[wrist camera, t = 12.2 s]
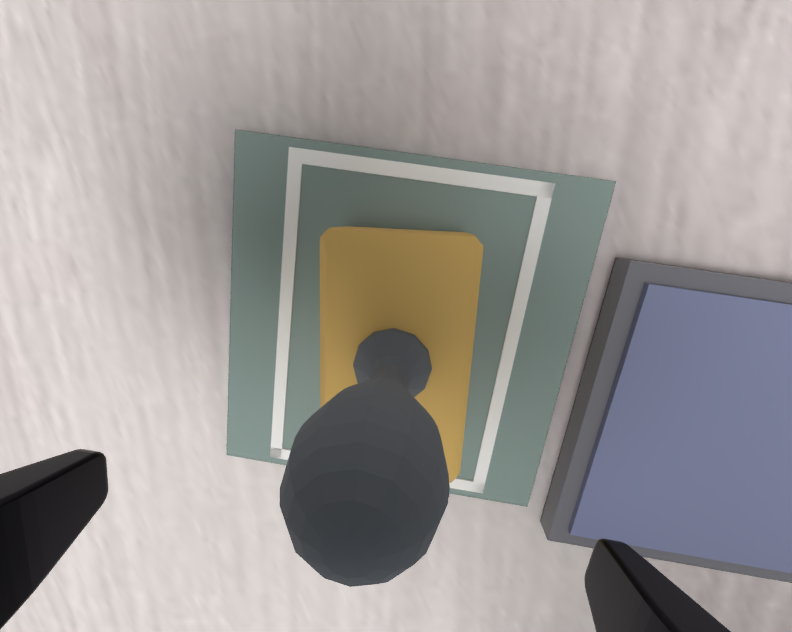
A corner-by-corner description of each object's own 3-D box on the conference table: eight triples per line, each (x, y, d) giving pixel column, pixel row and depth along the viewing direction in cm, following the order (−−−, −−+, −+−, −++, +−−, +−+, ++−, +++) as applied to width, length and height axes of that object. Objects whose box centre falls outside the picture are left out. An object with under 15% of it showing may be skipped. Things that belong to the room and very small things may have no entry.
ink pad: (903, 299, 16) (952, 306, 14) (773, 561, 19) (801, 589, 18) (616, 257, 16) (634, 261, 15) (540, 521, 20) (549, 545, 18)
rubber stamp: (340, 225, 17) (141, 235, 5) (472, 232, 16) (592, 260, 5) (338, 426, 19) (202, 749, 7) (453, 436, 19) (498, 790, 7)
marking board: (612, 182, 16) (617, 181, 15) (525, 502, 20) (527, 508, 19) (238, 130, 16) (233, 128, 16) (229, 451, 20) (225, 456, 20)
